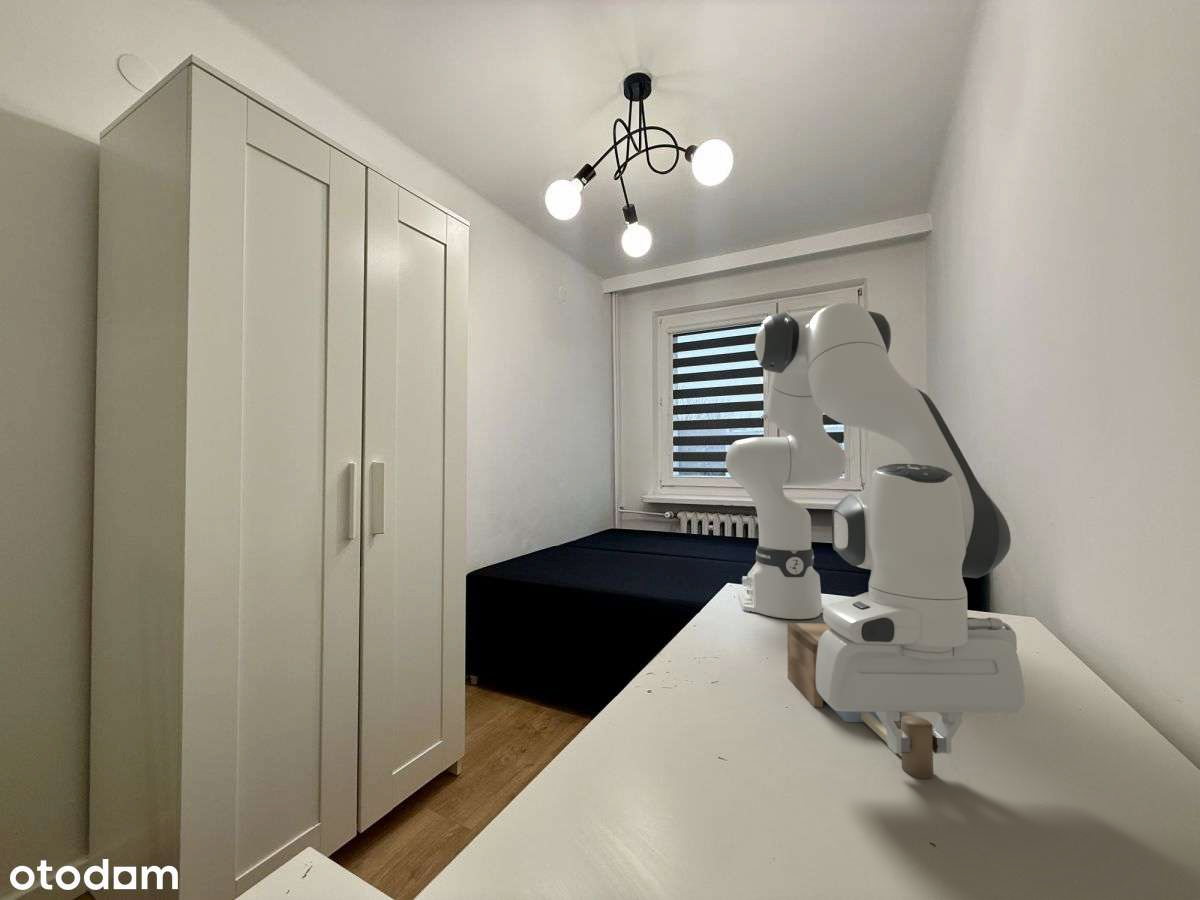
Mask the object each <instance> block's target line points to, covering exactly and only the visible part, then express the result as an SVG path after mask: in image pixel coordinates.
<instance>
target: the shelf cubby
mask: <svg viewBox="0 0 1200 900" xmlns="http://www.w3.org/2000/svg"><path fill="white" fill-rule="evenodd" d="M829 628H830V627H829V626H828V625H827V624H826V623H825V622H824V623H821V622H819V623H818V622H817V623H815V622H814V623H813V622H812V623H811V622H809V623H808V622H805V623H803V622H799V623H798V622H788V623H787V628H786V629H787V632H786V633H787V679H788V680H789V681H790V682H791V683H792V684H793V686H794V687H795V688H796V689H797V690H798V691H799V692H800V693H801V694H802V696H803V697H805V698H806V700H807V701H808V703H810V704H811V705H812V706H813V707H814V708H824V699H823V698H822V697H821V696H820V694H819V693H818V691H817V688H816V659H817V650H818V644H819V640H820V638H821V636H822V634H823V633H824V632H825V631H826V630H827V629H829Z"/></svg>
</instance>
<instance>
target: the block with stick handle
mask: <svg viewBox="0 0 1200 900" xmlns="http://www.w3.org/2000/svg"><path fill="white" fill-rule="evenodd" d="M826 705H827V706H829V708H830V709H832V711H834V712H835V714H837V716H839V718H840V719H841V720H842V721H844V722H845V723H865V724H866V725H867V726H868V727H869V728H870V729H871V730H872V731H873V732H874V733H876V735H878V737H880V738H881V739H882V740H883V741H884V742H885V743H886V744H887V730H886V729H885V727H884V725H883V724H882V722H881V720H880V719H879V717H878V715H877V714H876V712H873V711H836V710H834V709H833V708H832V707H831V706H830V705H829V704H828V703H827V702H826ZM933 728H934V726H933V724H932V723H931V722H930V721H929V720H927V719H925V718H923V717H919V716H915V715H903V716H900V729H901V730H902V731H903V732H904V734H906V735H908V736H909V737H910V746H909V747H910V753H897V754H898V755H899V756H900V757H901V769H902V771H904V772H905V773H906V774H908V775H909V776H912V777H914V778H916V779H921V780H930V779H932V778H933V777H934V752H933Z"/></svg>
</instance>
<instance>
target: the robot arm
mask: <svg viewBox="0 0 1200 900" xmlns="http://www.w3.org/2000/svg"><path fill="white" fill-rule="evenodd" d="M891 340H892V332H891V325H890V322H888V320H887V318H886V317H885V316H884V314H881V313H879V312H875V311H869V310H867V309H866V308H865V307H863V306H862V305H860V304H858V303H855V302H850V301H848V302H847V301H841V302H837V303H836V302H835V303H833V304H829V305H827V306H825V307H823V308H822V309H820V310H817V311H816V310H811V311H801V312H800V311H799V312H793V313H787V312H780V313H776V314H772V315H769V316H767V317H766V318H765V319H764V320H763V321H762V322H761V323H760V326H759V329H758V331H757V333H756V337H755V341H754V343H755V344H754V349H755V355H756V357H757V362H758V364H759V366H760V367H762V369H763V370H765V371H768V372H771V377H770V384H769V390H768V396H767V402H766V403H767V404H766V415H767V419H768V421H770V423H771V424H772V425H773V426H774V427H776V428H777V429H778V430H780V431H782V432H784V433H786V434H788V435H787V436H755V437H753V436H752V437H748V438H742V439H738V440H735V441H734V442H732V444H731V445H730V446H729V448H728V449H727V452H726V456H725V466H726V467H725V468H726V470H727V472H728V474H729V476H730V477H731V479H733V480H734V481H735V482H736V483H737V484H738V485H740V486H741V487H742V488H743V489H744V490H745V491H746V492H747V494H748V495H749V496H750V498H751V499H752V503H753V504H754V506H755V510H756V514H757V522H758V523H757V524H758V525H757V527H758V545H757V547H756V550H755V561H756V562H755V563H754V565H753V566H752V567H751V569H750V570H749V571H748V573H747V575H746V576H745V575H743V576H742V577H741V584H742V587H747V589H741V590H738V593H737V596H739V597H738V600H739V599H740V600H739V603H740V606H741V608H742V610H743V611H746V612H750V611H751V612H750V613H757V614H762V615H764V616H769V617H773V618H779V619H780V618H781V619H789V620H808V619H815V618H817V617H819V616H820V615H821V614H822V615H823V616H822V617H823V622H824V623H826V624H827V625H828V626H829V627H830V628H829V629H827V630H826V631H825V632H824V633H823V634H822V636H821V638H820V640H819V644H818V650H817V659H816V688H817V691H818V693H819V694H820V696H821V697H822V698H823V701H824V702H827V703H828V704H829V705H830V706H831V707H832V708H833V709H834V710H836V711H873V712H876V714H877V715H878V717H879V719H880V720H881V722H880V723H881V724H883V725H884V727H885V729H886V730H887V743H886V744H887V747H888V749H890V750H891V751H892V752H893V753H894V754H898V753H910V747H909V746H910V737H909V736H908V735H906V734H904V732H903V731H902V730H901V728H898V726H897V724H896V723H895V722H900V721H901V715H900V714H901V713H902V712H903V713H905V712H906V713H909V712H910V713H937V714H938V718H937V719H936V722H935V724H934V726H933V754H936V755H937V754H939V755H940V754H941V755H942V754H943V755H945V754H947V755H949V754H952V739H953V738H954V736H955V734H956V733H957V731H958V730H959V728H960V727H961V725H962V723H963V713H977V714H978V713H980V714H981V713H983V714H984V713H989V714H991V713H992V714H998V713H999V714H1000V713H1001V714H1002V713H1003V714H1016V713H1018V712H1019V711H1020V710H1022V707H1023V706H1024V704H1025V702H1026V695H1025V686H1024V680H1023V679H1024V678H1023V672H1022V668H1021V667H1022V666H1021V663H1020V659H1019V655H1018V653H1017V651H1018V650H1017V649H1018V646H1017V642H1018V641H1017V634H1016V632H1015V630H1013V628H1012V627H1011V626H1010V625H1009V624H1008V623H1006V622H1004V621H1002V620H1001V619H1000V618H998V617H985V618H982V617H981V618H980V617H971V616H970V617H968V590H967V587H966V585H965V582H964V579H963V577H965V578H970V579H971V578H972V579H979V578H981V577H983V576H986V575H988V574H989V573H990V572H991V571H994V569H996V568H997V567H998V566H999V565H1000V564H1001V562H1002V561H1003V560H1004V559H1005V558H1006V556H1007V555H1008V554H1009V551H1010V549H1011V542H1012V539H1011V531H1010V527H1009V524H1008V522H1007V520H1006V517H1005V516H1004V514H1003V513H1002V511H1001V510H1000V508H999V507H998V506H997V504H996V503H995V502H994V501H993V500H992V498H991V497H990V496H989V495H988V494H987V493H986V491H985V490H984V488H983V487H982V486H981V484H980V482H979V481H978V479H977V478H976V476H975V474H974V473H973V470H972V469H971V467H970V465H969V462H968V461H967V460H966V457H965V455H964V454H963V453H962V450H961V448H960V447H959V445H958V443H957V442H956V439H955V437H954V436H953V434H952V432H951V430H950V428H949V426H948V425H947V423H946V422H945V420H944V418H943V416H942V414H941V413H940V411H939V410H938V408H937V406H936V404H935V403H934V401H932V399H931V398H930V397H929V395H928V394H927V393H925V392H924V391H921V390H920V389H918V388H916V387H914V386H913V385H912V384H911V383H909V381H907V380H906V379H905V378H904V377H903V376H902V375H901V374H900V373H899V371H897V369H896V368H895V366H894V365H893V363H892V362H891V359H890V357H889V354H888V353H889V350H890V346H891ZM823 415H826V417H828V418H830V419H832V420H833V421H835V422H837V423H839V424H842V425H845V426H849V427H853V428H857V429H862V430H865V431H869V432H872V433H875V434H878V435H880V436H884V437H886V438H889V439H891V440H893V441H895V442H897V443H898V444H899V445H901V446H902V447H903V448H905V450H906V451H907V452H908V453H909V454H910V457H911V458H912V460H913V462H914V463H891V464H887V465H882V466H879V467H877V468H875V469H874V470H873V472H872V474H871V477H870V481H869V485H868V486H867V487H865V488H864V489H862V490H861V491H857V492H856V493H855V492H854V493H849V494H848V495H846V496H845V497H844V498H842V499H841V500H840V501H839V502H838V503H837V504H836V506H835V507H834V508H833V509H832V512H831V541H832V548H833V550H834V551H836V553H837V554H838V555H839V556H840V557H841V558H842V559H843V560H844V561H845V562H847V563H848V564H849V565H851V566H853V567H858V568H861V569H866V570H870V575H869V580H868V591H867V592H864V593H861V594H858V595H855V596H852V597H850V598H847V599H843V600H840V601H838V602H834V603H831V604H828V605H825V604H823V603H822V592H821V590H822V589H821V578H820V577H821V576H820V574H819V573H818V571H816V570H815V569H814V567H813V566H814V565H815V564H814V563H815V562H814V559H815V554H814V549H813V548H812V518H811V515H810V513H809V511H808V509H806V508H805V507H804V506H802V505H801V504H799V503H798V502H796V501H793V500H791V499H789V498H787V496H786V495H785V493H784V486H808V487H809V486H810V487H811V486H813V487H814V486H819V485H820V486H822V485H826V484H832V483H836V482H837V481H839V479H840V478H841V477H842V475H843V474H844V472H845V470H846V465H847V459H846V458H847V457H846V454H845V451H844V449H843V448H842V446H841V444H840V443H839V442H838V441H836V440H835V439H833V438H832V437H831V436H830V435H829V434H828V433H827V431H826V428H825V427H824V426H825V425H824V420H823V419H824V417H823ZM827 703H826V704H827ZM828 704H827V705H828ZM829 705H828V706H829ZM830 706H829V707H830ZM831 707H830V708H831ZM832 708H831V709H832ZM833 709H832V710H833ZM834 710H833V711H834ZM900 712H901V713H900Z"/></svg>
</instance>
